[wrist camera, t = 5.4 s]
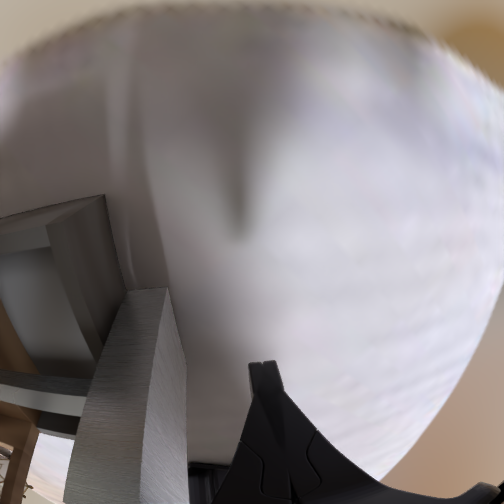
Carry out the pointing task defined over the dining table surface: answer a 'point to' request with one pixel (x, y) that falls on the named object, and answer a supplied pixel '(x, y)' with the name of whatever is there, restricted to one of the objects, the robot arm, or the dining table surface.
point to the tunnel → (53, 313)
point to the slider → (122, 409)
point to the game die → (0, 471)
